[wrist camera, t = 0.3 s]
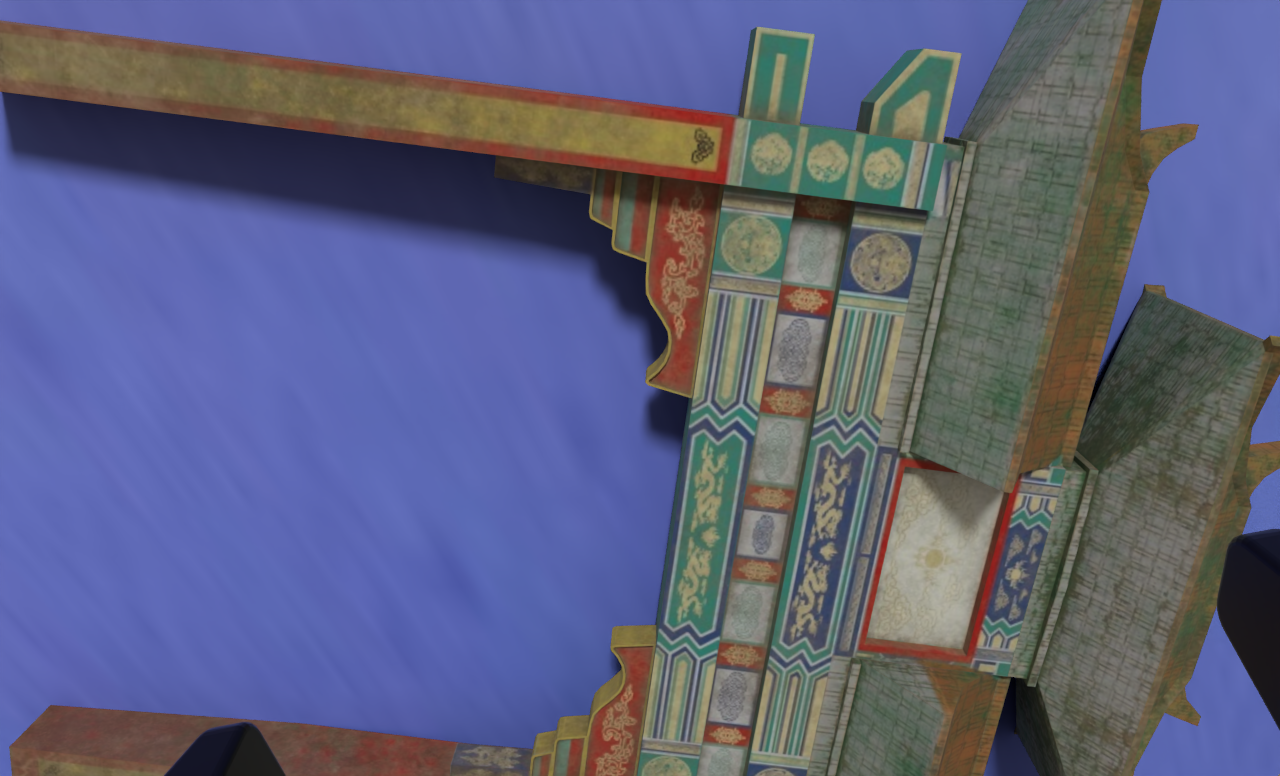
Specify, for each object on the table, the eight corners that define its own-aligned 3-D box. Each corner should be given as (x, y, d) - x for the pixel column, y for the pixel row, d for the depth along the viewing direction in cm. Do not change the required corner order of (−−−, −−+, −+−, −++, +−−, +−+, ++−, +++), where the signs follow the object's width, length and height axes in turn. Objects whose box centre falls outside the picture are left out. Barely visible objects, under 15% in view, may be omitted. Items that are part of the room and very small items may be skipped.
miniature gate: (-158, -241, 16) (1572, -13, 17) (44, -162, 22) (1354, 10, 22) (-17, 961, 25) (1135, 1097, 25) (104, 805, 30) (1053, 919, 30)
